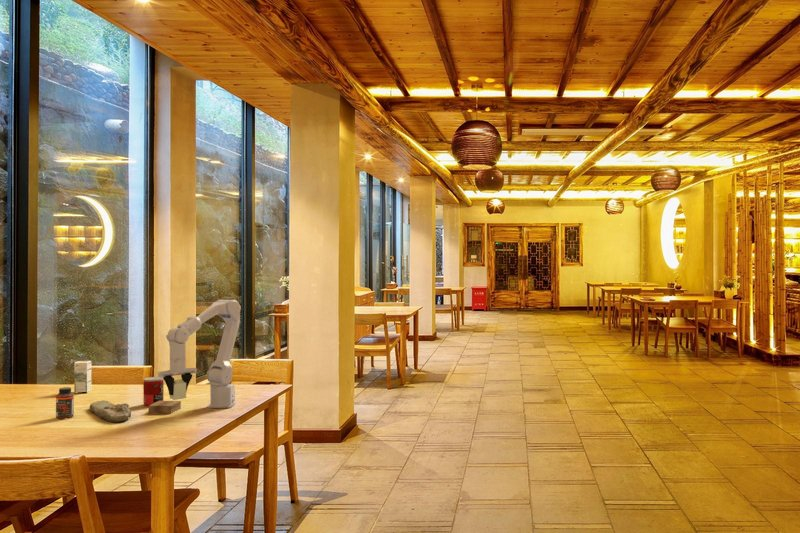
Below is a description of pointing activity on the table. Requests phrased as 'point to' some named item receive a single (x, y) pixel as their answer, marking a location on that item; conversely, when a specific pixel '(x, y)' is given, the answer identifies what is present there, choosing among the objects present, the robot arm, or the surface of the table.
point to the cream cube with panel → (179, 390)
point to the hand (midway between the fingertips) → (177, 393)
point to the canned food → (153, 390)
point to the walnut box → (164, 407)
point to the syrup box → (82, 376)
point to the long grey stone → (111, 411)
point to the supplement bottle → (64, 403)
